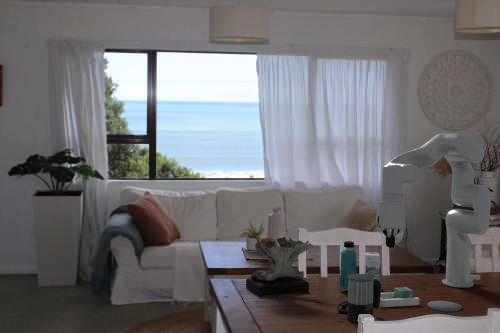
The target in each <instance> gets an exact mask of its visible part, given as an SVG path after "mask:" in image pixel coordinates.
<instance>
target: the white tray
mask: <svg viewBox="0 0 500 333" xmlns="http://www.w3.org/2000/svg"><path fill="white" fill-rule="evenodd" d="M420 300H421V299H420V298H419V297H416V296H415V297H413V298H396V299H394V291H389V292H386V291H385V292H381V297H380V307H379V308H391V307H409V306H420Z"/></svg>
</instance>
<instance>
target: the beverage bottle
mask: <svg viewBox="0 0 500 333" xmlns="http://www.w3.org/2000/svg"><path fill="white" fill-rule="evenodd" d="M343 248H345V249H343V250H342V251H341V252H340V268H339V271H340V272H339V284H338V285H339V288H340V289H341V290H347V291H348V275H351V274H357V254H358V253H357V252H356V251H355V250H354V249H353V248H355V241H351V240H346V241H344V242H343ZM346 248H347V249H346Z"/></svg>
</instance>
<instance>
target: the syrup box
mask: <svg viewBox="0 0 500 333" xmlns="http://www.w3.org/2000/svg"><path fill="white" fill-rule="evenodd" d="M363 260H364V262H363V264H364V265H363V266H364V267H363V274H366V275H371V276H373V277H374V278H375V279H377V280H379V281H380V270H381V269H380V265H381V256H380V253H379V252H369V251H368V252H366V251H365V252H364V259H363Z"/></svg>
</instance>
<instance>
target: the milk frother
mask: <svg viewBox="0 0 500 333" xmlns="http://www.w3.org/2000/svg"><path fill="white" fill-rule="evenodd" d="M381 293H382V283H381V282H380V279H379V280H377V279H375V278H374V277H373V276H371V275H366V274H364V273H356V274H351V275H348V290H347V300H343V301H341V302H339V303H338V304H337V306H336V308H337V311H339V312H341V313H344V314H346V319H347V320H348V321H350V322H352V323H357V319H358V315H359V314H371V315H373V316H374V309H377V310H378V309H380V308H381V307H380V297H381Z"/></svg>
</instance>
